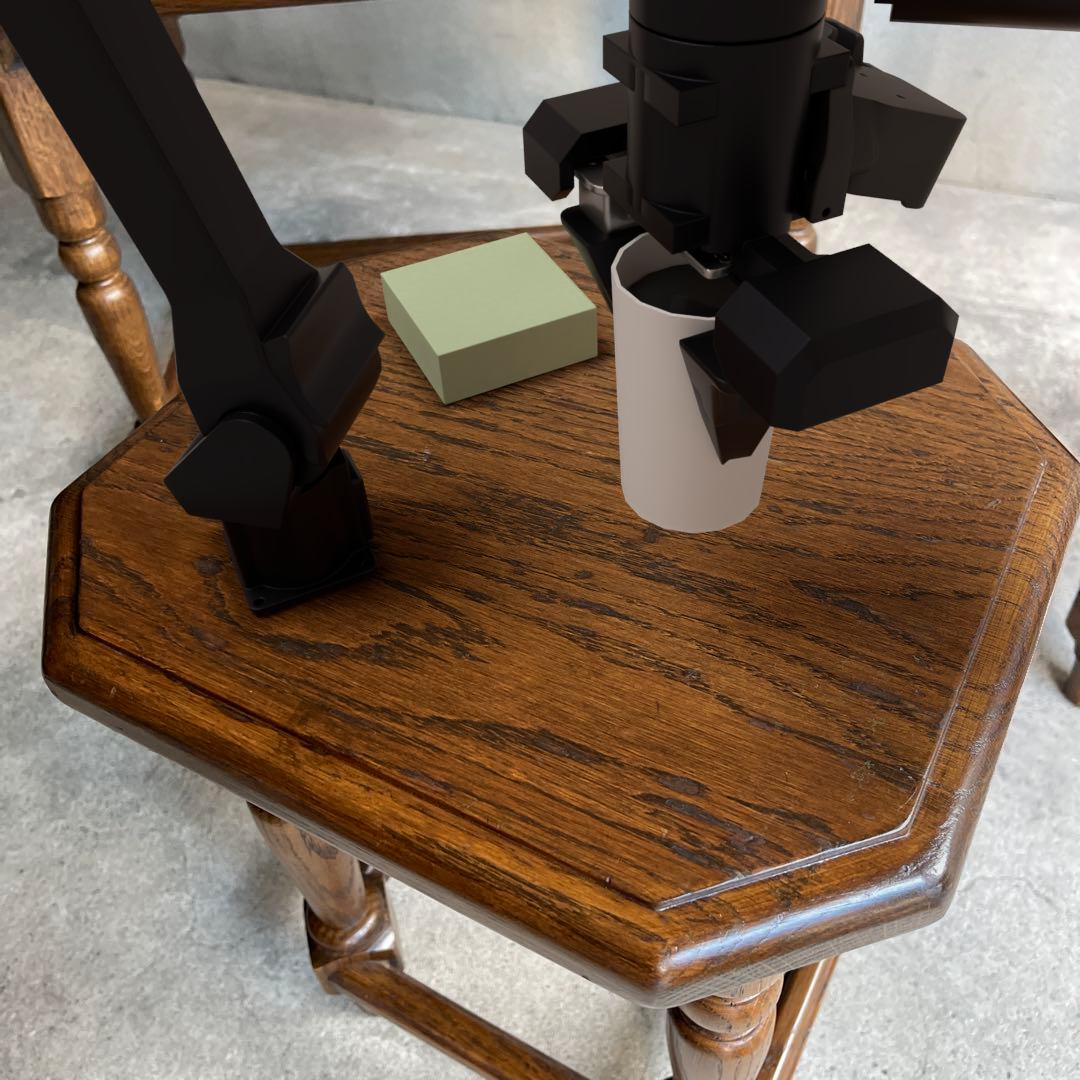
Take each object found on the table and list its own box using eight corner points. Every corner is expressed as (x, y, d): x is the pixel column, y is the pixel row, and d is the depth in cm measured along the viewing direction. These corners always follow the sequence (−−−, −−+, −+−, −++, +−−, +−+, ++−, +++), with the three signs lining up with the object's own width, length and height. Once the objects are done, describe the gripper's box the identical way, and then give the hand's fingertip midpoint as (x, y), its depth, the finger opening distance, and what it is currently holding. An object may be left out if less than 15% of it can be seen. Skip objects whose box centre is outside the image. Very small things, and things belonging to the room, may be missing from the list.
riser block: (444, 405, 64) (437, 355, 62) (388, 320, 71) (379, 272, 68) (598, 356, 67) (597, 306, 64) (529, 279, 73) (526, 231, 71)
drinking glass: (778, 543, 43) (812, 321, 36) (606, 538, 43) (606, 319, 36) (768, 436, 47) (796, 222, 41) (613, 432, 48) (615, 221, 41)
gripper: (1187, 62, 28) (1024, 505, 39) (783, -114, 41) (745, 261, 52) (821, 161, 25) (756, 609, 36) (505, -61, 38) (528, 325, 49)
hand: (695, 423), depth 43 cm, fingers closed on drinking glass, 5 cm apart
